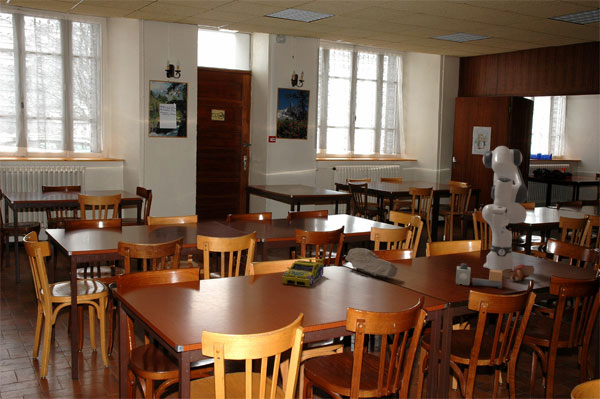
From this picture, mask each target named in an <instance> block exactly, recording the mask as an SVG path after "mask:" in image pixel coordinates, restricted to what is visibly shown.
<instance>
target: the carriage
mask: <svg viewBox="0 0 600 399" xmlns="http://www.w3.org/2000/svg"><path fill="white" fill-rule="evenodd" d="M488 280H489V285H497V286H501V283H502V284H503V276H502V271H500V270H492V269H489V276H488Z"/></svg>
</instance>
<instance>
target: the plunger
mask: <svg viewBox="0 0 600 399" xmlns="http://www.w3.org/2000/svg"><path fill="white" fill-rule="evenodd" d="M460 266H461V267H460V269H466V270H467V267H468V263H460Z"/></svg>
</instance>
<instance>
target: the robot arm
mask: <svg viewBox="0 0 600 399" xmlns="http://www.w3.org/2000/svg"><path fill="white" fill-rule="evenodd" d="M522 161H523V155H522V152H521V151H520V149H516V148H512V149H509V147H507V146H505V145H499V146H497V147H495V149H494V150H489V151H485V152H484V154H483V157H482V163H483V165H484V167H485V168H487V169H492V171H493V172H494V173H493V186H492V187H491V195H490V197H491V199H492V200H493V203H492V204H486V205H485V206H484V207H483V208H482V210H481V214H482V215H481V216H482V218H483V220H484V221H485V222H487V224H488V225H489V226H490V229H491V235H492V237H491V244H490V252H488V254H487V255H486V258H485V259H486V262H484V264H483V266H482V267H483V268H486V269H489V270H500V271H504V270H505V269H512V270H513V271H514V269H515V267H516V266H514V262H515V260H514V259H515V256H514V255H513V254H512V252H513V247H512V240H513V233H512V232H511V231H510V230H509V229H507V228H506V226H508V225H509V224H520V223H523V222H524V221H525V220H526V219H527V210H526V208H525V207H524V206H523V205H521V204H523V203H525V202H526V201H527V199H528V196H529V191H528V189H527V186H526V184H525V180H524V179H523V175H522V172H521V169H520V168H519V166H521V164H522Z"/></svg>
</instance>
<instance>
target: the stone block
mask: <svg viewBox="0 0 600 399" xmlns="http://www.w3.org/2000/svg"><path fill="white" fill-rule="evenodd" d="M345 261H348V263H350V264H351V266H352V268H356V269H358V271H366V272H368V273H369V274H371V275H373V276H377V277H380V278H381V277H382V278H395V277H396V275H397V272H398V270H399V269H398V267H397V266H396V265H395V264H393V263H392V262H390V261H387V260H385V259H381V258H379V255H377V254H376V253H374V252H373V251H371V250H369V249H367V248H365V247H364V248H362V247H361V248H360V247H355V248H351V249H349V251H348V253H347V255H345ZM361 276H363V277H364V274H361ZM365 277H367V278H369V276H367V275H365Z"/></svg>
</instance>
